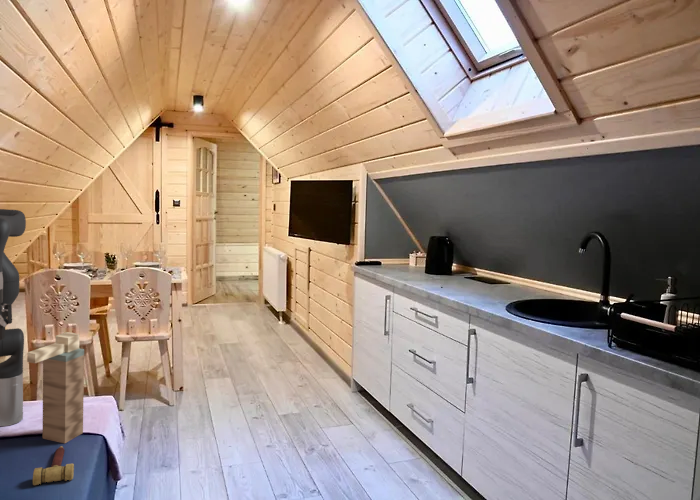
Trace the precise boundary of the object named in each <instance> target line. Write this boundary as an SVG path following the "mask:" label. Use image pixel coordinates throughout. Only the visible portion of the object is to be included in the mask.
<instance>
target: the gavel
mask: <svg viewBox="0 0 700 500" xmlns="http://www.w3.org/2000/svg"><path fill="white" fill-rule="evenodd" d="M65 451H66V450H65V448H64V447H63V445H60V446H59V447H58V448H56V449H55V452H54V456H53V459H52V463H51V465H50V467H46V468H43V467H35V468H34V469H33V473H32V485H33V486H38V485H39V484H40V485H42V483H46V482H47V483H53V481H54V482H59V481H64V482H68V481H67V480H69V481H73V480H72V479H74V472H75V464H74V463H72V462H71V463H66V464H65V465H64V466H63V465H62V463H63V459H64V455H65Z"/></svg>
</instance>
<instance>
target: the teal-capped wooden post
mask: <svg viewBox="0 0 700 500" xmlns="http://www.w3.org/2000/svg"><path fill="white" fill-rule="evenodd" d="M84 375H85V349H84V348H80V347H79V349H76V350H74V351H71V352H68V353H67V352H65V353H62V354H59V355H56V356H54V357H51V358H48V359H46V360H43V361H42V440H43V439H44V440H48V441H52V442H55V443H61V444H66V443H68V442H70V441H72V440H73V439H75V438H77V437H79V436H80V435H82V434H83V433H84V395H85V394H84V391H85V390H84V389H85V387H84V386H85V384H84V383H85V376H84Z"/></svg>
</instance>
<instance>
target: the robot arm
mask: <svg viewBox="0 0 700 500" xmlns="http://www.w3.org/2000/svg"><path fill="white" fill-rule="evenodd" d="M26 225H27V221H26V216H25V213H24V212H22V211H21V210H18V209H8V208H7V209H5V208H0V358H1V357H8V358H7V359H6V360H3V361H2V362H0V427H7V426H12V425H15V424H17V423H18V424H19V422H21V421H22V420H23V418H24V351H25V350H24V347H25V334H24V331H23V330H22V329H21V328H18V327H17V328H9V329H8V328H6V327H7V326H8V325H9V324H13V309H12V308H13V306H12V305H13V304H14V302H15V300H17V298H18V296H19V293H20V273H19V271H18V268H16V266H15V265H14V264H13V262H12V261H11V260H10V259H9V257H8V256H7V254H6V253H5V249H6V244H7V242H8V240H9V237H11V238H13V237H14V238H15V237H20V236H22V235H23V234H24V233H25V231H26V227H27V226H26Z"/></svg>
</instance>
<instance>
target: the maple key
mask: <svg viewBox="0 0 700 500" xmlns="http://www.w3.org/2000/svg"><path fill="white" fill-rule="evenodd" d="M79 348H80V333H75V332H70V331H69V332H68V331H66V332H64V333H59V334H57V335H55V342H54V343H52V344H48V345H46V346H41V347H40V348H36V349H33V350H31V351H27V352H26V355H27V357H26V362H27V363H31V364H38V363H40V362H43V360H46V359H48V358H51V357H54V356H56V355H59V354H62V353H65V352H67V353H68V352H71V351H74V350H76V349H79Z"/></svg>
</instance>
